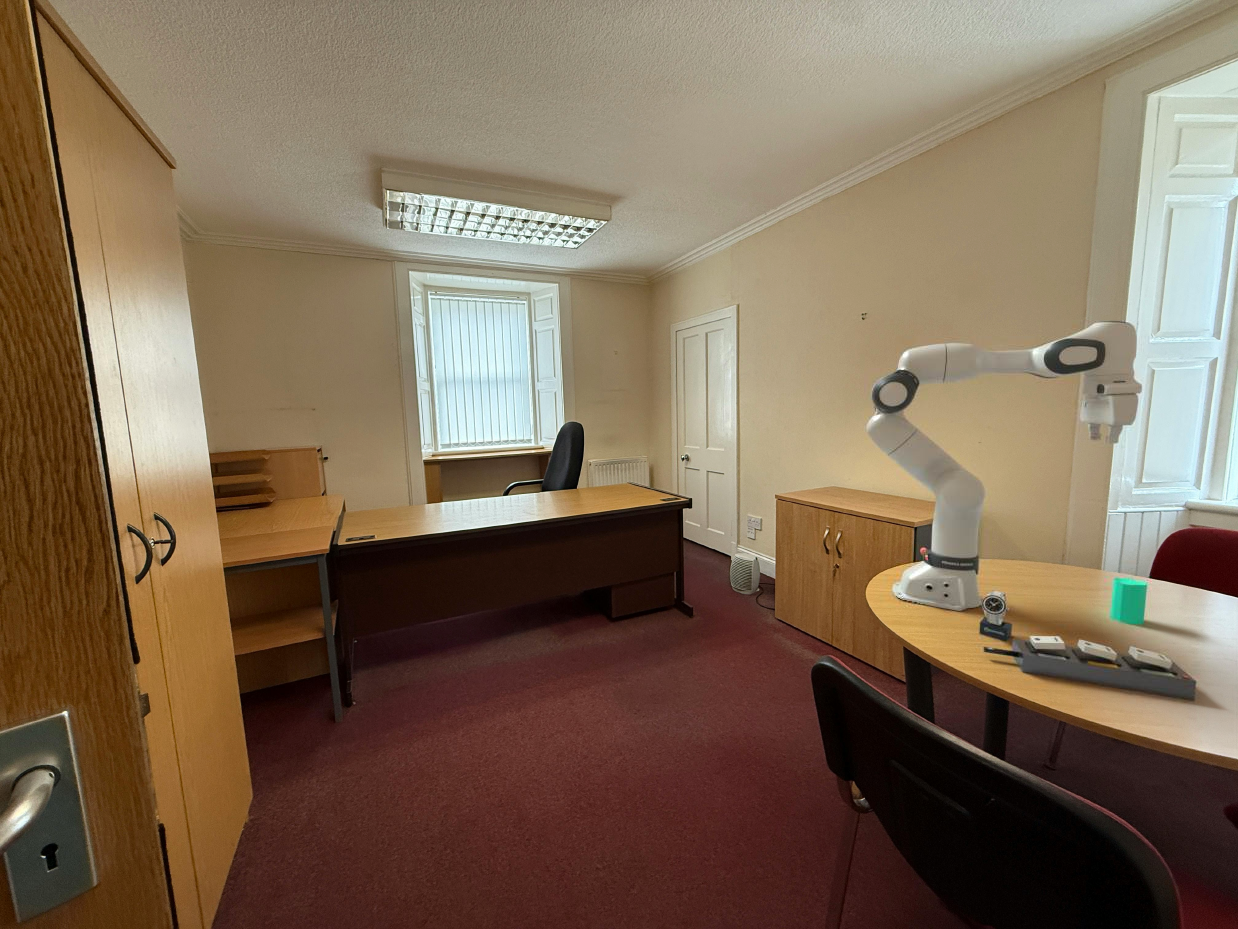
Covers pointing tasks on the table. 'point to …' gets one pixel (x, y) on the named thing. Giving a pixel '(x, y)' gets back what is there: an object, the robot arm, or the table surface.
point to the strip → (1101, 669)
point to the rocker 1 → (1047, 642)
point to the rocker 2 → (1097, 649)
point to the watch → (995, 617)
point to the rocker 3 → (1150, 657)
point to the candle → (1128, 600)
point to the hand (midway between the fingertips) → (1103, 441)
